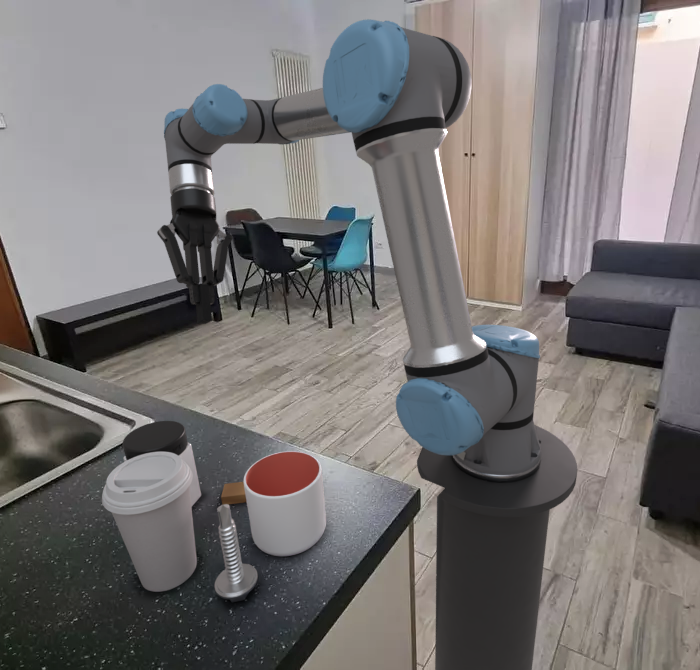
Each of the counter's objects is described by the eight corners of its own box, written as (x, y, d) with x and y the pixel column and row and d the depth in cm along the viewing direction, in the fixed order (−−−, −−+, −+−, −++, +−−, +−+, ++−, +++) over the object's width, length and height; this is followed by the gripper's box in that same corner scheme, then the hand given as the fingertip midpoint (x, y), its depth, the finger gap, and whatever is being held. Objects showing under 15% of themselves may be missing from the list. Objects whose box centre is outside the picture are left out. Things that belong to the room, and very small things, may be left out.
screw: (267, 581, 59) (245, 615, 55) (232, 572, 61) (208, 605, 56) (254, 494, 55) (228, 523, 50) (217, 487, 56) (189, 515, 52)
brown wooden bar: (312, 481, 77) (312, 473, 77) (312, 494, 74) (312, 485, 74) (225, 491, 75) (224, 483, 75) (222, 505, 72) (220, 497, 72)
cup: (292, 499, 73) (285, 442, 70) (341, 526, 68) (337, 466, 64) (237, 540, 66) (226, 479, 62) (288, 573, 60) (279, 508, 57)
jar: (133, 529, 68) (113, 457, 64) (140, 494, 75) (123, 426, 71) (201, 513, 71) (186, 443, 67) (201, 480, 78) (189, 415, 74)
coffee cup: (108, 588, 59) (77, 487, 53) (169, 534, 67) (148, 441, 62) (168, 613, 55) (141, 507, 50) (225, 553, 64) (207, 456, 58)
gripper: (218, 209, 96) (230, 326, 92) (147, 197, 87) (158, 326, 83) (235, 194, 90) (249, 317, 87) (161, 179, 81) (173, 316, 78)
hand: (204, 321), depth 85 cm, fingers closed
